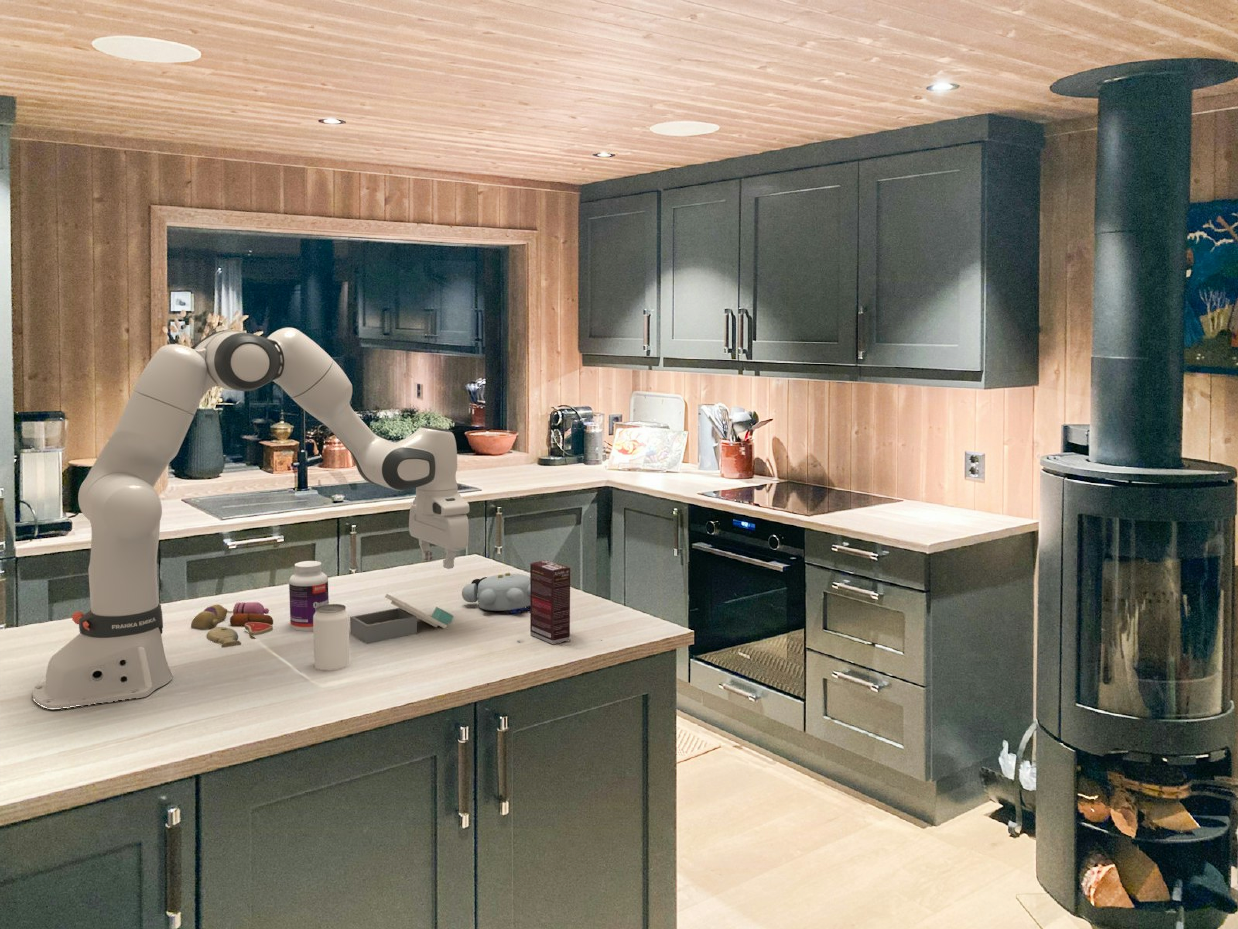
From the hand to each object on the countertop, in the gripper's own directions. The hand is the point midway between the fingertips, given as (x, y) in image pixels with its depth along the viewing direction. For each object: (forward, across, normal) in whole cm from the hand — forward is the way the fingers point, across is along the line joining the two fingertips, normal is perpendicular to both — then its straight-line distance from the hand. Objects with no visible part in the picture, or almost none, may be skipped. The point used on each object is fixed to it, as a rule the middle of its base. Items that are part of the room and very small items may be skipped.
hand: (437, 563), depth 219 cm
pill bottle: (+14, -15, -23) cm, 31 cm away
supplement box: (+14, +21, +15) cm, 30 cm away
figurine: (+14, -6, +20) cm, 25 cm away
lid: (+11, 0, -5) cm, 12 cm away
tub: (+14, 0, -13) cm, 19 cm away
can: (+14, +12, -29) cm, 35 cm away
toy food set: (+15, -26, -35) cm, 46 cm away
